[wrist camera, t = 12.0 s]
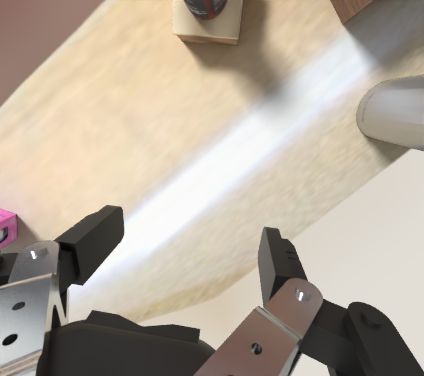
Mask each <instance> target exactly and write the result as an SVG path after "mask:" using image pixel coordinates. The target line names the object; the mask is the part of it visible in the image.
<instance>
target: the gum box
mask: <svg viewBox="0 0 424 376" xmlns="http://www.w3.org/2000/svg"><path fill="white" fill-rule="evenodd" d="M16 239H17V218H16V214H14V213H10V212H8V211H5V210H2V209H0V248H2V247H4V246H6V245H7V244H9V243H11V242H12V241H14V240H16Z"/></svg>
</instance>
